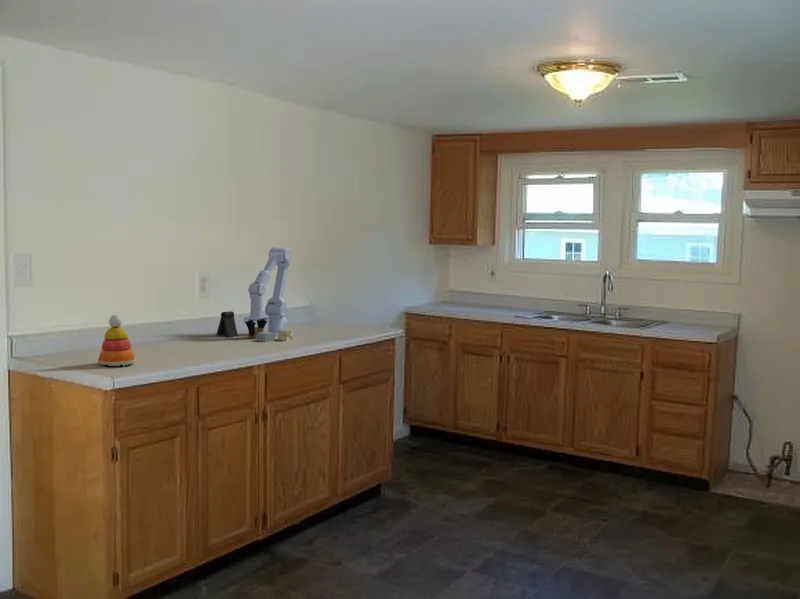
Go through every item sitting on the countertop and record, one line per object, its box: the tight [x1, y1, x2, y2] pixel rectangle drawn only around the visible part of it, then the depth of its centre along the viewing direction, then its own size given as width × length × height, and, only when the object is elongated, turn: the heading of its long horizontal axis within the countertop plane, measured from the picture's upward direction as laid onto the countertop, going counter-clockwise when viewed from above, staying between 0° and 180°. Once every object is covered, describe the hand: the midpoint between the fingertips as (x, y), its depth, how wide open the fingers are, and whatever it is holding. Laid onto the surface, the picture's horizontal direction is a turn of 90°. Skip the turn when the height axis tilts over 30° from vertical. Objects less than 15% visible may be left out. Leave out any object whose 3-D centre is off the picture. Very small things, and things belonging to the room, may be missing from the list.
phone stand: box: [215, 310, 239, 338], centre depth 395 cm, size 9×6×12 cm, turn 55°
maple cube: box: [277, 328, 293, 342], centre depth 390 cm, size 5×5×5 cm
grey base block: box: [256, 331, 276, 343], centre depth 385 cm, size 6×6×4 cm
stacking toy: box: [97, 314, 137, 367], centre depth 309 cm, size 14×14×20 cm
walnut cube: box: [247, 326, 264, 340], centre depth 392 cm, size 5×5×5 cm
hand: (255, 335), depth 392 cm, fingers closed on walnut cube, 5 cm apart
